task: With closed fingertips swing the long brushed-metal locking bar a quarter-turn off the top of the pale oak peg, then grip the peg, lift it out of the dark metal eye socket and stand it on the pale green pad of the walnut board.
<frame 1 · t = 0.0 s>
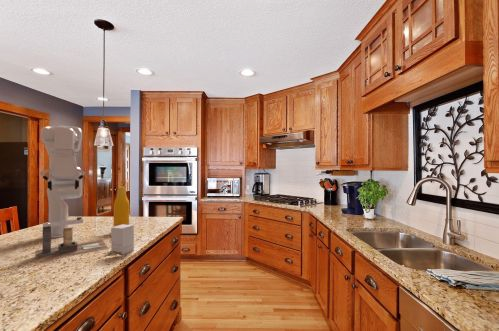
hand: (63, 189, 116), 31 cm above the countertop, tool pointing down, fingers open, 9 cm apart
oak peg: (67, 250, 120), point 1 cm above the countertop, touching eye board
supplement box: (122, 252, 122), on the countertop
locking bar: (63, 221, 119), point 15 cm above the countertop, hinge at 0.0°
beer bottle: (121, 231, 160), on the countertop
eye board: (72, 251, 121), on the countertop
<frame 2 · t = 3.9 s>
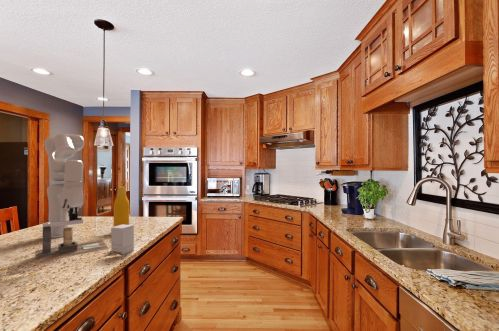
hand: (73, 221, 123), 15 cm above the countertop, tool pointing down, fingers closed
locking bar: (63, 222, 118), point 15 cm above the countertop, hinge at -3.8°, touching gripper
everything else where it was.
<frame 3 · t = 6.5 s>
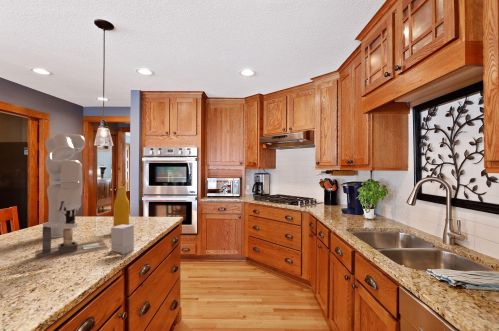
hand: (70, 224, 117), 15 cm above the countertop, tool pointing down, fingers closed
locking bar: (59, 224, 114), point 15 cm above the countertop, hinge at -42.9°, touching gripper
everything else where it was.
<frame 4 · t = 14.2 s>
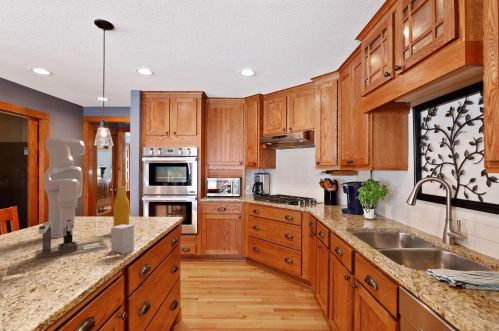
hand: (67, 242, 120), 5 cm above the countertop, tool pointing down, fingers closed on oak peg, 3 cm apart
oak peg: (67, 250, 120), point 1 cm above the countertop, touching eye board, gripper
locking bar: (44, 226, 109), point 15 cm above the countertop, hinge at -97.5°
everything else where it was.
when the fingers open (7 cm above the countertop, at t = 19.6 s): oak peg stays where it is, resting on eye board.
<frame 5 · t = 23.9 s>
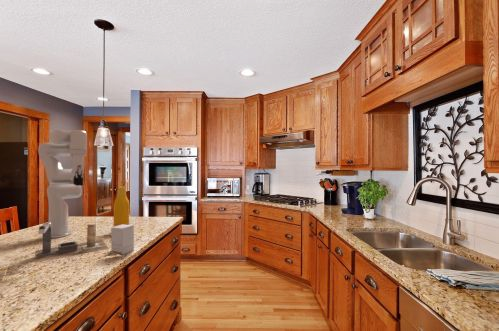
hand: (78, 184, 132), 32 cm above the countertop, tool pointing down, fingers open, 9 cm apart
oak peg: (91, 246, 125), point 2 cm above the countertop, touching eye board
everything else where it was.
at the end: locking bar at -98° (first picture: +0°); oak peg inside the target area (0.1 cm from its centre), point 1.6 cm above the countertop; oak peg tilted 1° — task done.
